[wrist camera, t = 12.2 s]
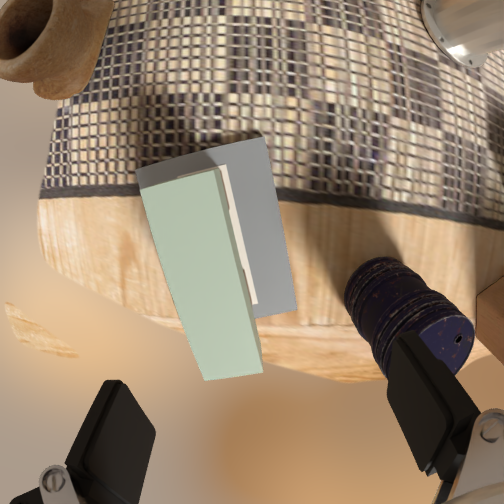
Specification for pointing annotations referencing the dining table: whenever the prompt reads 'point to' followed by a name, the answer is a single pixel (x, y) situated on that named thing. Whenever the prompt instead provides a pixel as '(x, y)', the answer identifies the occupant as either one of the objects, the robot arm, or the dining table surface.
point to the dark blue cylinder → (405, 313)
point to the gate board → (244, 216)
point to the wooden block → (492, 319)
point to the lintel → (205, 272)
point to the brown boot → (52, 43)
